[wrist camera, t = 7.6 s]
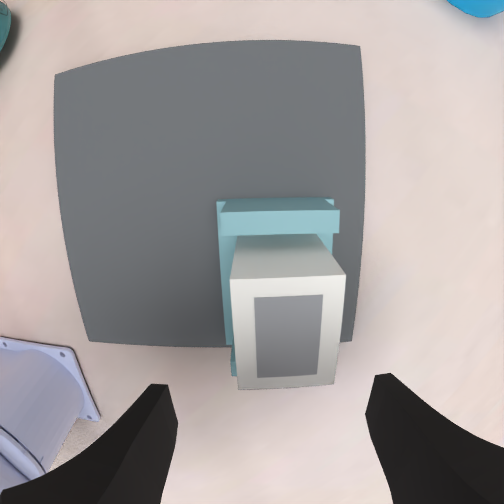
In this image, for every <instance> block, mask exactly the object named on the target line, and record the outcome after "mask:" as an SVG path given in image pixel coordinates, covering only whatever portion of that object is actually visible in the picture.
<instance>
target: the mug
mask: <svg viewBox="0 0 504 504" xmlns="http://www.w3.org/2000/svg"><path fill="white" fill-rule="evenodd" d="M447 1H448V2H449V3H451V4H452V5H453V6H455V7H457V8H458V9H460V10H462V11H463V12H465V13H467V14H470V15H473V16H475V17H478V18H484V17H490V16H493V15H495V14H498V13H500V12H502V11H504V0H447Z"/></svg>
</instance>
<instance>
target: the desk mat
mask: <svg viewBox="0 0 504 504" xmlns="http://www.w3.org/2000/svg"><path fill="white" fill-rule="evenodd" d="M54 147H55V164H56V177H57V187H58V197H59V205H60V213H61V220H62V226H63V233H64V239H65V245H66V250H67V255H68V260H69V265H70V270H71V275H72V279H73V284H74V288H75V292H76V296H77V300H78V304H79V308H80V312H81V315H82V319H83V323H84V326H85V330H86V333H87V336H88V339H89V341H92V342H104V343H116V344H131V345H148V346H172V347H232V345H226V336H225V324H224V311H223V298H222V284H221V270H220V255H219V239H218V223H217V204H216V202H217V200H218V199H245V198H288V197H331V198H332V199H334V206H335V207H336V208H337V209H339V210H340V219H339V233H333V244H332V256H333V257H334V259H335V260H336V261H337V263H338V264H339V266H340V267H341V268H342V270H343V271H344V273H345V274H346V282H345V294H344V306H343V316H342V326H341V335H340V342H349V341H352V335H353V328H354V321H355V313H356V305H357V296H358V287H359V277H360V267H361V255H362V241H363V225H364V204H365V110H364V89H363V74H362V62H361V51H360V46H356V45H347V44H338V43H327V42H313V41H292V40H248V41H227V42H213V43H202V44H192V45H184V46H176V47H169V48H163V49H157V50H151V51H145V52H140V53H135V54H130V55H125V56H121V57H116V58H112V59H108V60H104V61H100V62H96V63H92V64H89V65H85V66H82V67H78V68H75V69H72V70H68V71H65V72H62V73H59V74H56V75H55V81H54Z"/></svg>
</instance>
